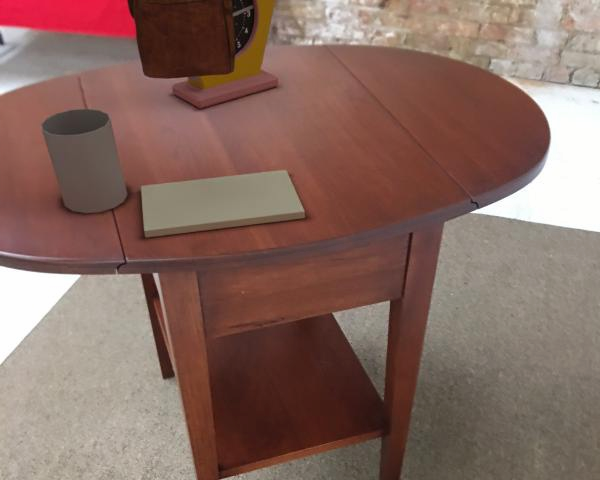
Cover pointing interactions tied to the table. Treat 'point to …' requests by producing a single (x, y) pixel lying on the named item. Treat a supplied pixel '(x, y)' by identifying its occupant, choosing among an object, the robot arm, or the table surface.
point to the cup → (85, 159)
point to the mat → (219, 203)
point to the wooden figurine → (184, 37)
